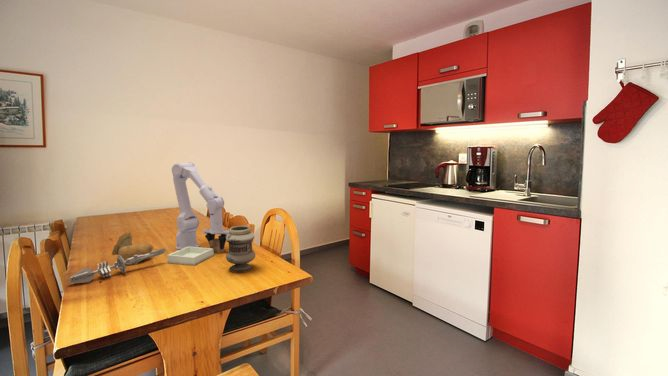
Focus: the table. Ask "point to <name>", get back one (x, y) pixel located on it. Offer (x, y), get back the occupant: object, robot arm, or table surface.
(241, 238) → the apothecary jar
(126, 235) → the rock
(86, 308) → the table surface
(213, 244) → the walnut block
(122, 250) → the potato
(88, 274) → the spaceship
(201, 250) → the sage tray
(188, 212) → the robot arm
